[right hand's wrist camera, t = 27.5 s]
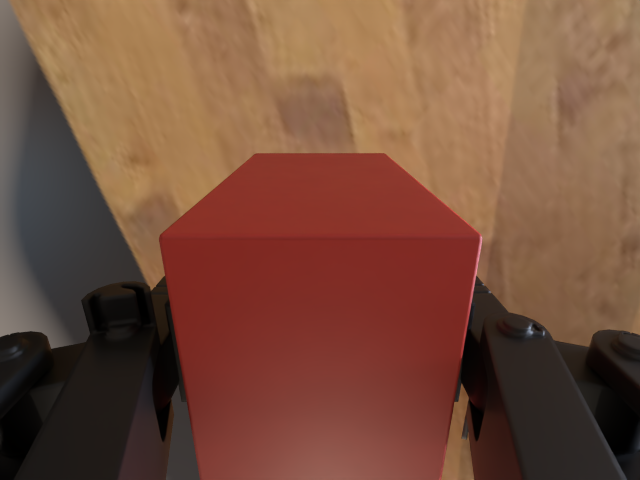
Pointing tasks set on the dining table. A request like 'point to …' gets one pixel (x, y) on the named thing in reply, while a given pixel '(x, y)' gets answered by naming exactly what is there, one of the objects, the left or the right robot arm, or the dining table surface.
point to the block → (320, 319)
